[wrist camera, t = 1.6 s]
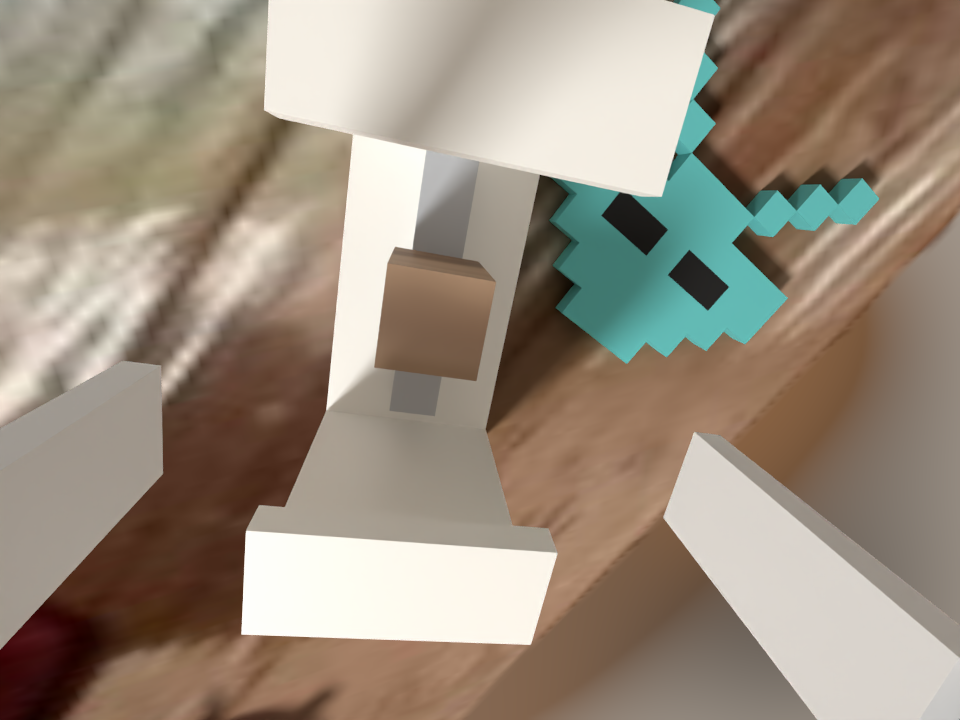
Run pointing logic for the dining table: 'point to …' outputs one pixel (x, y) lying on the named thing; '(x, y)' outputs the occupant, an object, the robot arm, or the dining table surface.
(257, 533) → the box
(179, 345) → the dining table surface
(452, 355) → the walnut block
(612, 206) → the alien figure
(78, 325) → the dining table surface
